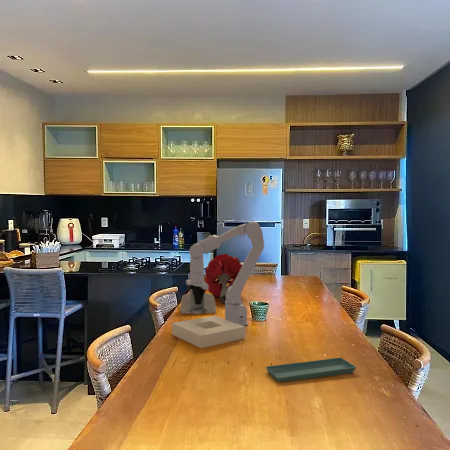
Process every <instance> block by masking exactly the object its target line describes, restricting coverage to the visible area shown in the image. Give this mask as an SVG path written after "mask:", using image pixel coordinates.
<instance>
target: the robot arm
mask: <svg viewBox="0 0 450 450" xmlns="http://www.w3.org/2000/svg"><path fill="white" fill-rule="evenodd" d="M263 233H264V232H263V230H262V228H261V226H260V224H259V223H258V222H257V221H253V220H252V221H249V222H248V223H243V224H240V225H237V226H236V227H233V228H231V229H230V230H228V231H225V232H224V233H221V234H220V235H217V234H213V235H212V234H209V235H208V236H207V238H204V239H203V240H198V241H197V243H194V244H192V245H191V246H190V247H189V250H188V251H189V255H190V257H189V258H190V259H189V260H190V261H189V271H190V272H189V279H186V280H185V284H186V285H188V286H187V290H188V292H189V293H190V289H193V291H194V293H195V300H196V305H199V304H201V302H202V298H203V295H204V293H206V291H207V290H208V284H207V283H206V282H205V277H204V276H205V275H204V274H205V273H204V272H205V268H204V267H205V266H204V265H205V263H204V262H205V260H204V254H208V253H211V252H213V251H214V250H216V249H218V248H221V244H222V243H224V242H226V241H229V240H230V239H232V238H235V237H237V236H239V237H241V236H242V237H243V236H244V237H245V236H247V237H248V239H250V242H251V245H252V246H251V248H250V250H249V252H248V254H247V256H246V258H245V260H244V262H243V264H241V265H242V267H241V269H240V271H239V273H238V275H237V277H236V279H235V281H234V282H233V284H232V285H231V286H229V287H228V286H227V287H228V289H227V293H226V301H225V303H224V319H226V320H228V321H231V322H234V323H237V324H239V325H242V326H248V325H249V323H248V309H247V306H245V305H244V304H243V300H242V299H241V298H242V292H243V290H244V288H245V286H246V283H247V281H248V280H249V277H250V275H251V274H252V271H253V269H254V268H255V266H256V264H257V262H258V260H259V258H260V256H261V254H262V253H263V251H264V248H265V241H264V234H263Z"/></svg>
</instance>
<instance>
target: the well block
mask: <svg viewBox="0 0 450 450" xmlns="http://www.w3.org/2000/svg"><path fill="white" fill-rule="evenodd" d="M171 324H172V325H171V327H172V328H171V332H172V334H171V335H172V336H174V337H176V338H179V339H180V340H182V341H184V342H187V343H189V344H190V345H193V346H194V347H197V348H199V349H204V348H208V347H209V348H210V347H212V346H213V347H214V346H217V345H222V344H226V343H230V342H235V341H240V340H244V339H245V340H246V325H244V326H242V325H239V324H237V323H234V322H231V321H228V320H226V319H225V318H223V317H221V316H220V317H219V316H218V315H211V316H210V315H209V316H204V317H200V318H199V317H198V318H194V319H188V320H187V319H186V320H182V321H176V322H172V323H171Z"/></svg>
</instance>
